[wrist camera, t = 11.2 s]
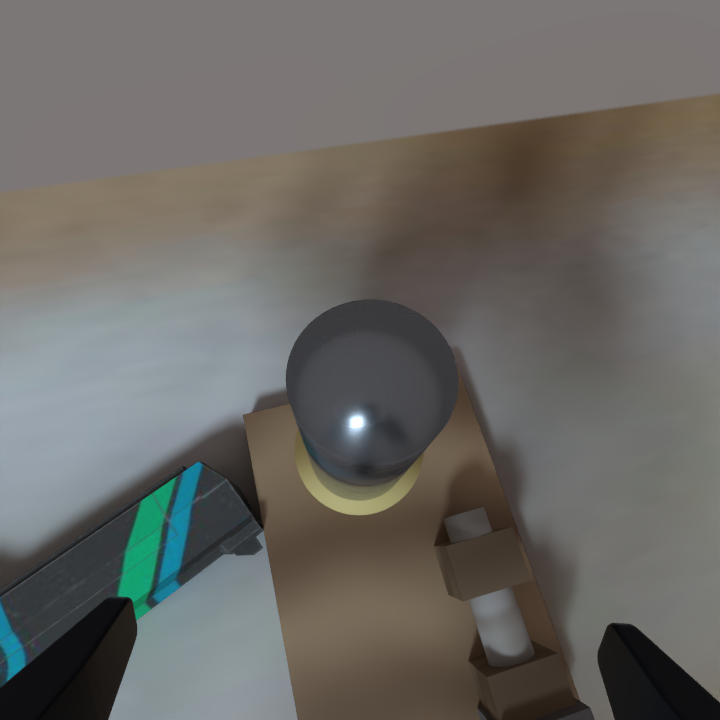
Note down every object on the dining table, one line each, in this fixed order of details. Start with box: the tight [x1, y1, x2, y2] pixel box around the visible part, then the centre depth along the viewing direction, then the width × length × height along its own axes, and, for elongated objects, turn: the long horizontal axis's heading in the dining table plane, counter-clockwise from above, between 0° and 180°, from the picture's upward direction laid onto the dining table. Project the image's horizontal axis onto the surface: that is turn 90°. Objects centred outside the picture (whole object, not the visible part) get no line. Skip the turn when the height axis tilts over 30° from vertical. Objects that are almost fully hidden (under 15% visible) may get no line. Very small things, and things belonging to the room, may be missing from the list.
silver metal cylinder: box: [286, 300, 458, 501], centre depth 17 cm, size 5×5×10 cm
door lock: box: [243, 363, 594, 720], centre depth 20 cm, size 15×11×4 cm
